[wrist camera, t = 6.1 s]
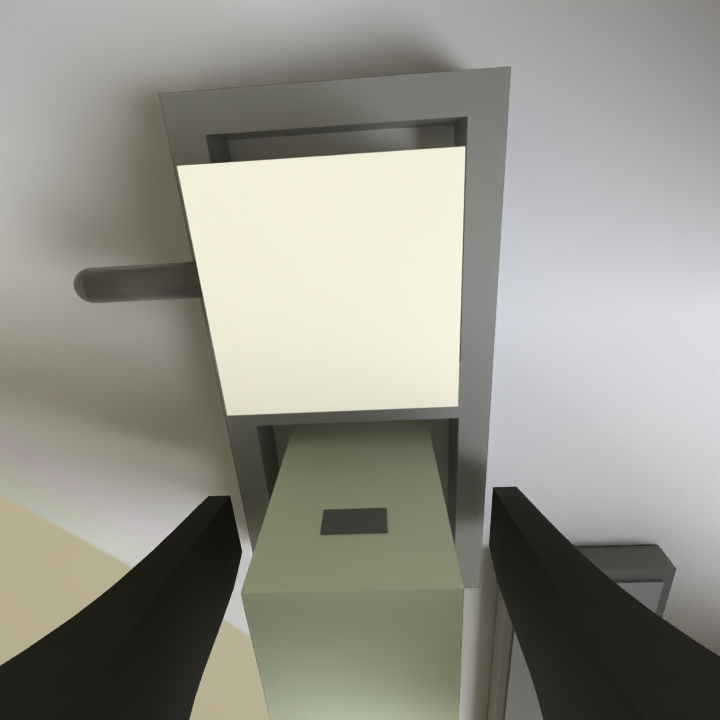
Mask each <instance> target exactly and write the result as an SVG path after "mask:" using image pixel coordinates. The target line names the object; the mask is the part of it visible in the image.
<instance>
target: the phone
mask: <svg viewBox="0 0 720 720" xmlns="http://www.w3.org/2000/svg"><path fill="white" fill-rule="evenodd" d="M576 548H577V549H578V550H579V551H580V552H581V553H582V554H583V555H584V556H585V557H586V558H587V559H589V560H590V561H591V562H592V563H593V564H594V565H595V566H596V567H598V568H599V569H600V570H601V571H602V572H603V573H604V574H606V575H607V576H608V577H609V578H610V579H611V580H613V581H614V582H615V583H616V584H618V585H619V586H620V587H621V588H623V589H624V590H625V591H626V592H628V593H629V594H630V595H632V596H633V597H634V598H636V599H637V600H638V601H639V602H641V603H642V604H643V605H645V606H646V607H647V608H649V609H650V610H651V611H653V612H654V613H655V614H657V615H658V616H660V617H661V618H662V616H663V612H664V609H665V605H666V602H667V598H668V595H669V592H670V588H671V585H672V581H673V578H674V574H675V571H676V568H675V566H674V565H673V564H672V562H671V561H670V560H669V559H668V557H667V556H666V555H665V553H664V552H663V551H662V550H661V548H660V547H659V546H658V545H654V546H613V547H576ZM487 720H543V717H542V713H541V709H540V706H539V702H538V698H537V694H536V691H535V688H534V685H533V681H532V678H531V675H530V672H529V669H528V666H527V664H526V661H525V658H524V655H523V653H522V650H521V647H520V644H519V641H518V639H517V636H516V633H515V630H514V627H513V625H512V622H511V619H510V616H509V614H508V611H507V608H506V605H505V602H504V599H503V597H502V594H501V591H500V588H499V585H498V596H497V608H496V620H495V632H494V644H493V656H492V668H491V680H490V692H489V704H488V716H487Z"/></svg>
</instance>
